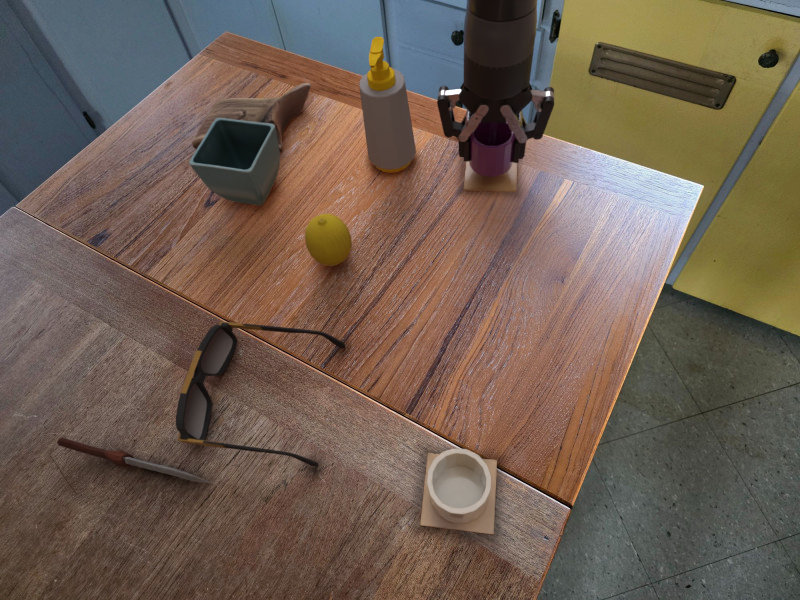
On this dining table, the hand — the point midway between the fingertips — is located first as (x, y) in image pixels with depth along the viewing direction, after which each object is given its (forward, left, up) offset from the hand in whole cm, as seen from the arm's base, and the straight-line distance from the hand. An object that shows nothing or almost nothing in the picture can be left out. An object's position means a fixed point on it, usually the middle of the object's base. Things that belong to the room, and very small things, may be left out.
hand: (491, 157), depth 74 cm
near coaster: (+1, +43, -3) cm, 43 cm away
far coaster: (0, 0, -3) cm, 3 cm away
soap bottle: (+14, -2, -3) cm, 14 cm away
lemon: (+19, +16, -3) cm, 25 cm away
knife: (+35, +44, -3) cm, 56 cm away
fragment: (+36, -8, -3) cm, 37 cm away
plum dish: (0, 0, -1) cm, 1 cm away
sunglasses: (+23, +35, -3) cm, 42 cm away
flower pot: (+33, +5, -3) cm, 33 cm away
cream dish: (+1, +43, -3) cm, 43 cm away
